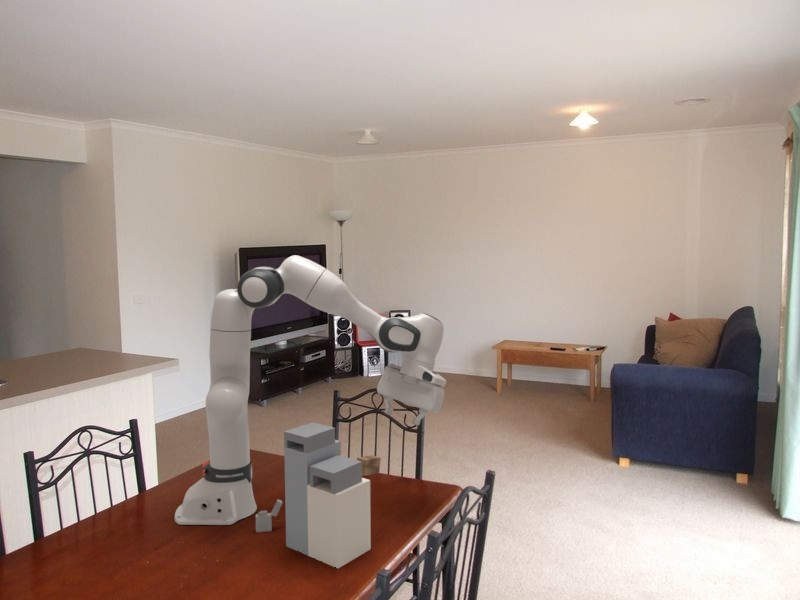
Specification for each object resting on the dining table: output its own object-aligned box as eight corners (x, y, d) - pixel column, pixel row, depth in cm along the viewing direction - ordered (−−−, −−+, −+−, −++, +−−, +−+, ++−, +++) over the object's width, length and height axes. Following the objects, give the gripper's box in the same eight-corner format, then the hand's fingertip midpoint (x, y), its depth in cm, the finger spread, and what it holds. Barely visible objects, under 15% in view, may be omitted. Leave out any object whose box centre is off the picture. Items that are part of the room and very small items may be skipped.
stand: (319, 529, 172) (318, 420, 169) (370, 549, 161) (369, 433, 158) (286, 546, 163) (283, 431, 160) (337, 568, 152) (336, 445, 149)
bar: (370, 470, 170) (371, 455, 170) (379, 472, 168) (380, 457, 168) (326, 478, 156) (328, 462, 157) (335, 481, 155) (337, 464, 155)
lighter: (256, 532, 170) (255, 503, 170) (255, 529, 172) (255, 501, 171) (283, 529, 172) (282, 500, 171) (282, 526, 174) (281, 498, 173)
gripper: (381, 360, 183) (366, 407, 181) (441, 379, 171) (425, 429, 170) (392, 364, 188) (378, 409, 187) (451, 382, 176) (437, 431, 175)
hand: (401, 419), depth 178 cm, fingers open, 8 cm apart
